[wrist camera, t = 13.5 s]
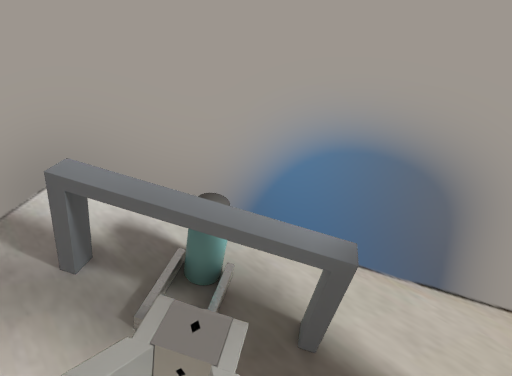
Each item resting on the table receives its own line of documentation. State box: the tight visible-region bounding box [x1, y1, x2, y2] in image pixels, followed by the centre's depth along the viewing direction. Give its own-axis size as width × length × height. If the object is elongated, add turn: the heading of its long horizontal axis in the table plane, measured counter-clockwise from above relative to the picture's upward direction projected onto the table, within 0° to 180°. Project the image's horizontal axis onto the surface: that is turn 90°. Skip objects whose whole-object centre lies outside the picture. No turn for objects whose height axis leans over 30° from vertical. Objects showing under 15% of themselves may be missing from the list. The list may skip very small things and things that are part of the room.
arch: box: [44, 158, 358, 353], centre depth 45 cm, size 39×4×17 cm, turn 77°
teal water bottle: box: [184, 193, 230, 285], centre depth 51 cm, size 6×6×14 cm
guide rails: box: [134, 248, 234, 330], centre depth 49 cm, size 10×14×2 cm
